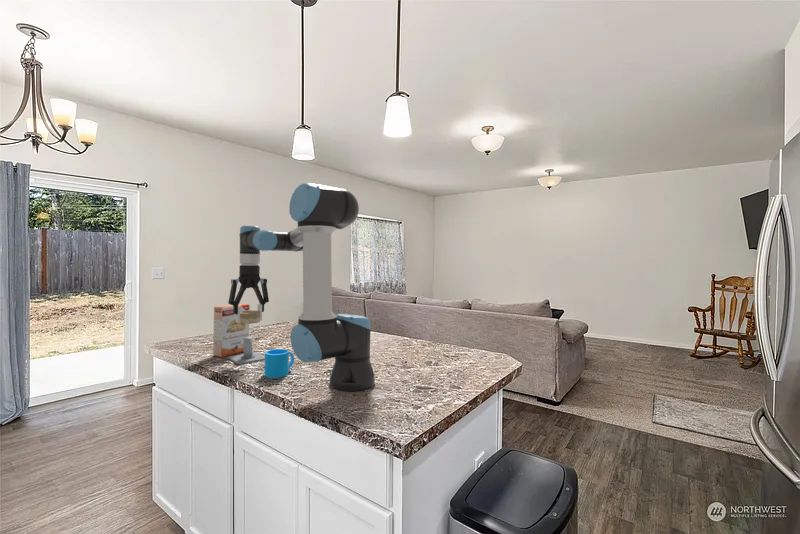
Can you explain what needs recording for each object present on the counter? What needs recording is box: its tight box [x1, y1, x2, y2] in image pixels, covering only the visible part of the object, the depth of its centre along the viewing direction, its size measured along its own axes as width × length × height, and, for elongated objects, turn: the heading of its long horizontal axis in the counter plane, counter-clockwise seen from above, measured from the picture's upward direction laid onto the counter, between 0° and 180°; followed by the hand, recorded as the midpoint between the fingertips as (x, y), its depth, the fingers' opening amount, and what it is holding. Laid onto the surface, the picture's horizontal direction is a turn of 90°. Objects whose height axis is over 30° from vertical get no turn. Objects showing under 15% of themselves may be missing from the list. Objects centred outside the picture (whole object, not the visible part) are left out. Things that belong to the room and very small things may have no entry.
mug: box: [264, 348, 295, 379], centre depth 135 cm, size 12×8×8 cm
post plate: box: [227, 336, 265, 366], centre depth 153 cm, size 12×12×9 cm
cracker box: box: [212, 303, 251, 358], centre depth 160 cm, size 14×6×21 cm, turn 153°
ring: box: [240, 309, 261, 325], centre depth 149 cm, size 8×8×4 cm
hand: (249, 321), depth 149 cm, fingers closed on ring, 8 cm apart
